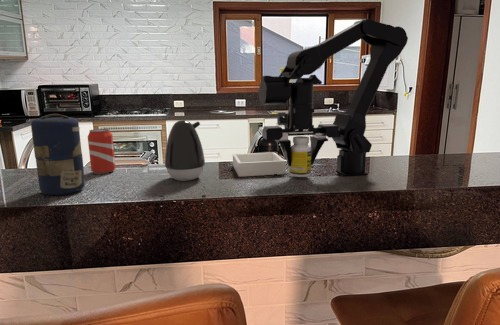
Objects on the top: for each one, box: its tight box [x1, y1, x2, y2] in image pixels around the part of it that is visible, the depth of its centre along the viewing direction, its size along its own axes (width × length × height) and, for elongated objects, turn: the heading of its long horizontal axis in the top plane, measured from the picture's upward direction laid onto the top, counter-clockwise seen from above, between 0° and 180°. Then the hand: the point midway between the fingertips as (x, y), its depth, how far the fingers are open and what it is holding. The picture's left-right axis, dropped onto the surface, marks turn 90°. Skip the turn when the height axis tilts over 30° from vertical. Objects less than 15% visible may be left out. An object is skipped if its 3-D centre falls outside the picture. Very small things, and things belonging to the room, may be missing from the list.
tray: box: [232, 151, 286, 177], centre depth 102 cm, size 13×13×4 cm
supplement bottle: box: [289, 135, 312, 178], centre depth 92 cm, size 5×5×10 cm
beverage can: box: [87, 128, 116, 175], centre depth 101 cm, size 6×6×12 cm
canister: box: [30, 113, 86, 196], centre depth 82 cm, size 10×10×18 cm
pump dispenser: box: [164, 119, 206, 182], centre depth 93 cm, size 10×10×15 cm
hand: (300, 165), depth 92 cm, fingers closed on supplement bottle, 5 cm apart
